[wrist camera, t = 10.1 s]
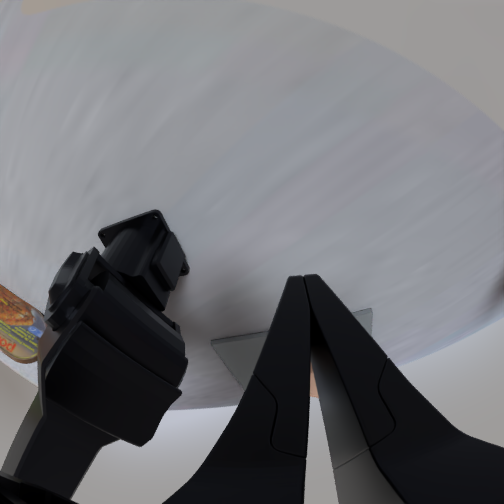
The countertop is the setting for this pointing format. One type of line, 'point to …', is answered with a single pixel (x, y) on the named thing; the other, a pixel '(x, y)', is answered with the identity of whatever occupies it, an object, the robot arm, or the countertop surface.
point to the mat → (259, 349)
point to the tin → (19, 328)
